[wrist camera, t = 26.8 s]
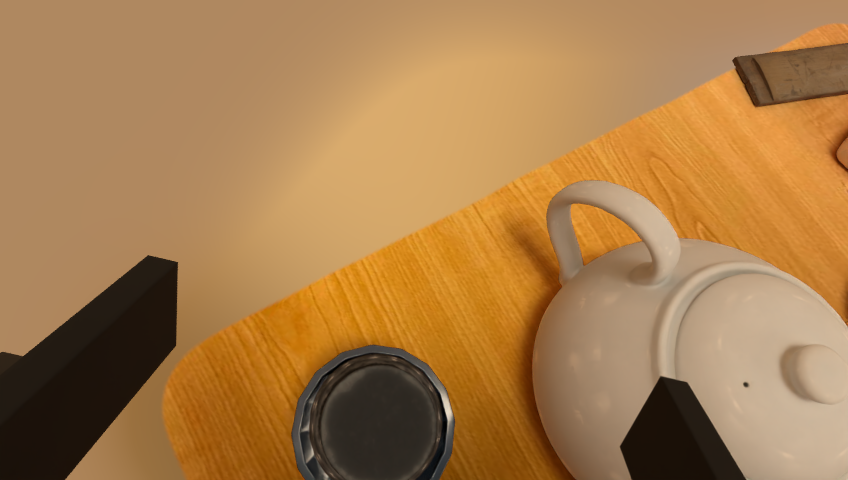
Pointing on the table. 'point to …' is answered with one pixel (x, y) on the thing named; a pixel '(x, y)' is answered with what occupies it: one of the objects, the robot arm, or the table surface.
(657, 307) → the teapot
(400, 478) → the pill bottle
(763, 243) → the table surface
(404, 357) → the cylindrical container
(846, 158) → the power adapter
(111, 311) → the robot arm
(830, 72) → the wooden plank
